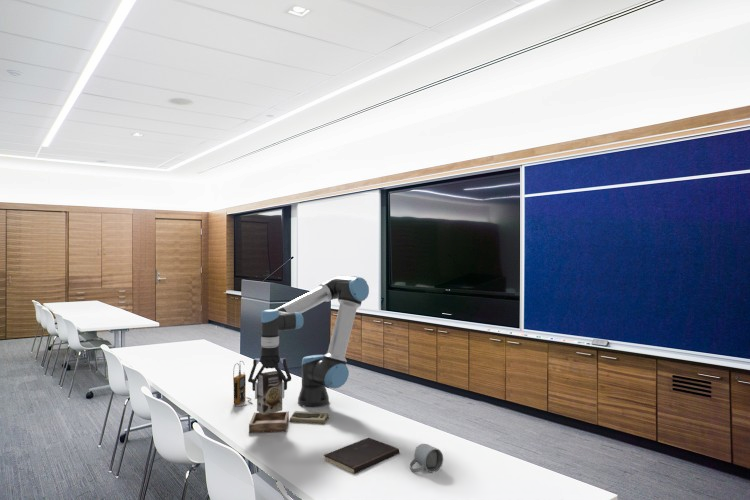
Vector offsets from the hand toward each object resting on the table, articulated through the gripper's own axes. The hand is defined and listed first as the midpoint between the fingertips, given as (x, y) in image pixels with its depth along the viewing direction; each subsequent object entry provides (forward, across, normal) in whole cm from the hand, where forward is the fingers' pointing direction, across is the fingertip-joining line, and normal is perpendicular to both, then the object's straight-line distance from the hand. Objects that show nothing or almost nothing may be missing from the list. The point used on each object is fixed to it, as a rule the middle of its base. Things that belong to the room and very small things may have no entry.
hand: (269, 397), depth 204 cm
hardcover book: (+13, +37, -35) cm, 52 cm away
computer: (+13, +17, +6) cm, 22 cm away
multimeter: (+12, -15, +34) cm, 39 cm away
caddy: (+12, 0, 0) cm, 12 cm away
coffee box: (+6, 0, 0) cm, 6 cm away
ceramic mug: (+12, +57, -47) cm, 75 cm away
